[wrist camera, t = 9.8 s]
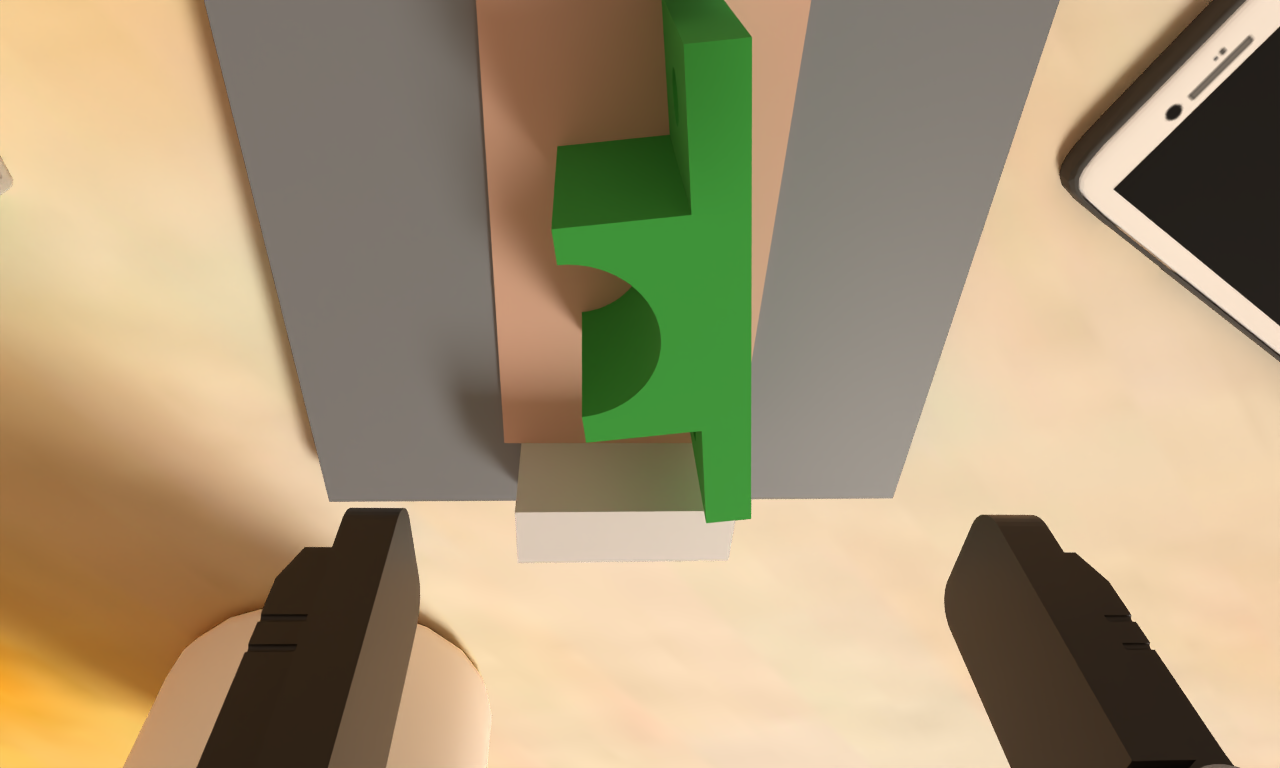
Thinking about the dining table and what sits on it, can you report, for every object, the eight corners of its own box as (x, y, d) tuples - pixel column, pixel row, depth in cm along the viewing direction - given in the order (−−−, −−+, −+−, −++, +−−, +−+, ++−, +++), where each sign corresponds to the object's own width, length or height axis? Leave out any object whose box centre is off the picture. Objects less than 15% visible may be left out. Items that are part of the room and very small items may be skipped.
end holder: (1085, -175, 16) (1220, -171, 13) (881, 473, 27) (925, 569, 23) (173, -236, 15) (50, -252, 11) (339, 475, 25) (301, 577, 22)
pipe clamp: (535, 4, 16) (522, 57, 13) (713, -14, 16) (753, 32, 13) (597, 422, 23) (601, 538, 19) (725, 409, 23) (753, 522, 19)
